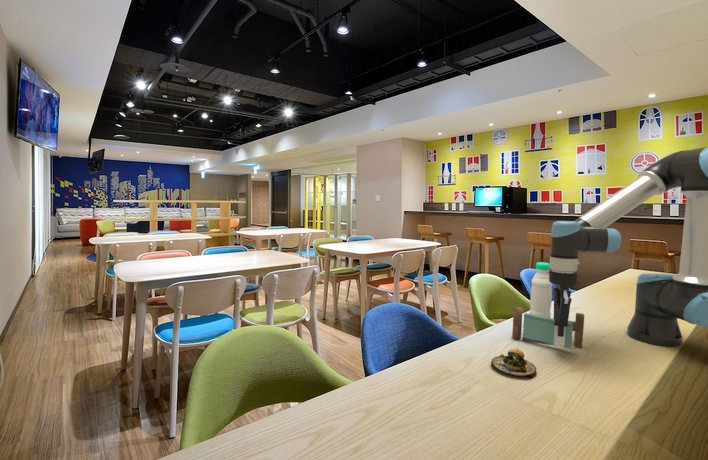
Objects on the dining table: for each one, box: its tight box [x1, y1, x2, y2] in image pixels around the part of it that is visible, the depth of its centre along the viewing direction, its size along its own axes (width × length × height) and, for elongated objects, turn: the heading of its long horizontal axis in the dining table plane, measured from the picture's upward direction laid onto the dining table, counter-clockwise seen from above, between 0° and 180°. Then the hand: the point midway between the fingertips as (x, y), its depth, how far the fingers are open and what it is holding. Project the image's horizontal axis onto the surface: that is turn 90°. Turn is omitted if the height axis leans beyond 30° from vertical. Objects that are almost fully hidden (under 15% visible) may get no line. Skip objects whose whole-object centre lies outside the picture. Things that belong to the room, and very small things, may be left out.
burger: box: [490, 343, 537, 379], centre depth 105 cm, size 12×12×8 cm
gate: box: [522, 312, 573, 349], centre depth 121 cm, size 14×2×8 cm, turn 49°
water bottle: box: [529, 261, 554, 318], centre depth 137 cm, size 7×7×25 cm
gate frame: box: [511, 306, 585, 349], centre depth 125 cm, size 21×4×11 cm, turn 71°
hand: (559, 345), depth 115 cm, fingers closed
